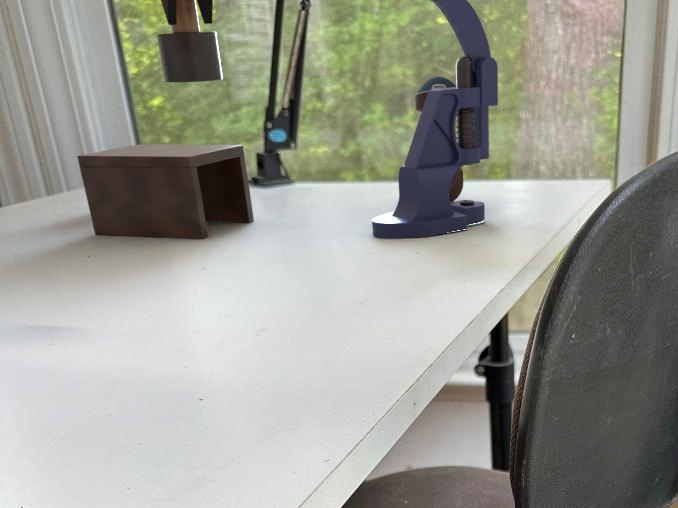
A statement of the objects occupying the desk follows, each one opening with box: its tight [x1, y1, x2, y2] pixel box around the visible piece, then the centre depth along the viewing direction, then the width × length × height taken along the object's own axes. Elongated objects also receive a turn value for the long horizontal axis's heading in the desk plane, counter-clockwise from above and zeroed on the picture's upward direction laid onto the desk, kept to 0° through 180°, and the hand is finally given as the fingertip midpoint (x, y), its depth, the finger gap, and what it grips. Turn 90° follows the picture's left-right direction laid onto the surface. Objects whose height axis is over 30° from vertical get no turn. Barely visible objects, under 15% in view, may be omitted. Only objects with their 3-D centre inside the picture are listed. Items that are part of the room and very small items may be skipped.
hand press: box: [371, 0, 499, 239], centre depth 102 cm, size 19×9×28 cm, turn 125°
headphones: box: [414, 76, 464, 203], centre depth 121 cm, size 6×15×22 cm
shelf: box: [76, 143, 255, 240], centre depth 113 cm, size 16×12×9 cm
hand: (190, 11), depth 82 cm, fingers closed on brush, 3 cm apart
